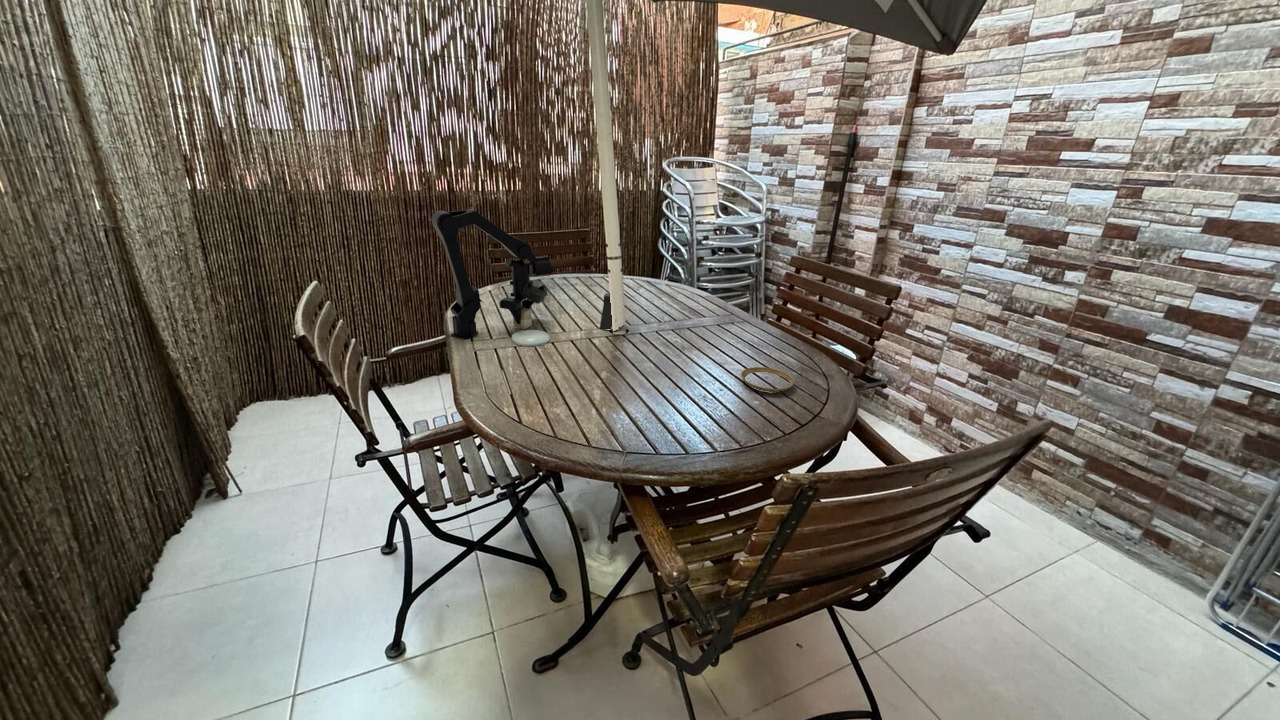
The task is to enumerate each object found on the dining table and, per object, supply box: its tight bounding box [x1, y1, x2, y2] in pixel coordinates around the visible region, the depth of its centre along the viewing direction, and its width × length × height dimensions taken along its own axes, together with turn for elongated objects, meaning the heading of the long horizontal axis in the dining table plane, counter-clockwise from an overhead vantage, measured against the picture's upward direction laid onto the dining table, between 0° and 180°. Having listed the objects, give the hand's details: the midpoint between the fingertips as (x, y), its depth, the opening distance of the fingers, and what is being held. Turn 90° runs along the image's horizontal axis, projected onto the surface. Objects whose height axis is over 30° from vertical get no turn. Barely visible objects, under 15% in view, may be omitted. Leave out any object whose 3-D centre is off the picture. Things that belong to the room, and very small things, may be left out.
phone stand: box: [599, 293, 612, 330], centre depth 181 cm, size 9×6×12 cm, turn 161°
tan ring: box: [740, 366, 795, 392], centre depth 146 cm, size 15×15×3 cm
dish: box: [511, 329, 550, 347], centre depth 167 cm, size 12×12×1 cm
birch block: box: [512, 308, 533, 330], centre depth 178 cm, size 4×4×6 cm
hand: (522, 322), depth 178 cm, fingers closed on birch block, 4 cm apart
